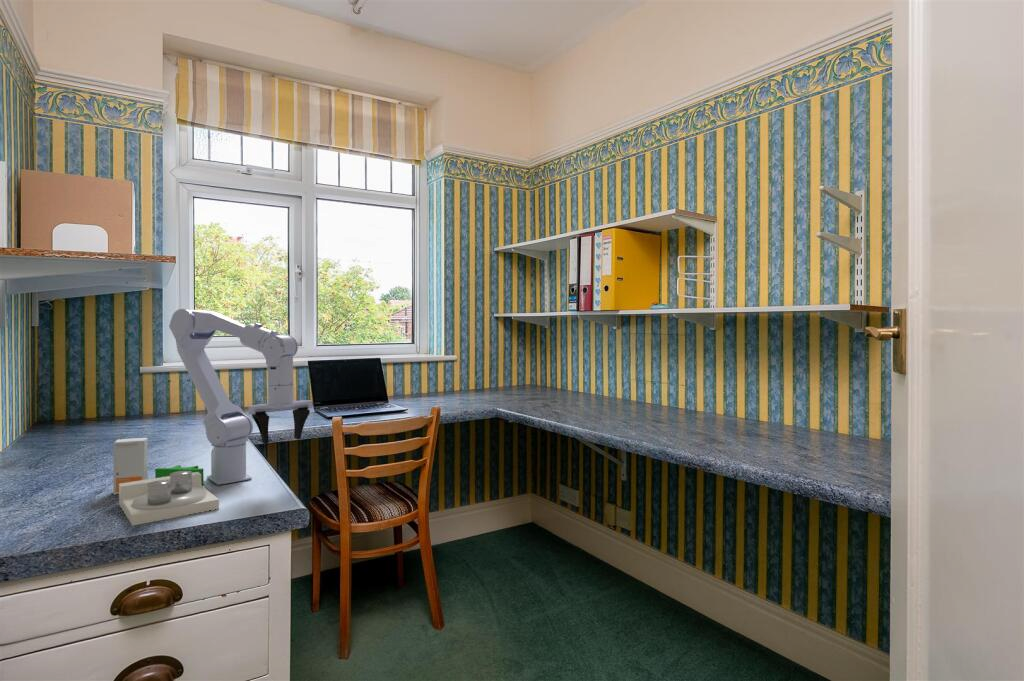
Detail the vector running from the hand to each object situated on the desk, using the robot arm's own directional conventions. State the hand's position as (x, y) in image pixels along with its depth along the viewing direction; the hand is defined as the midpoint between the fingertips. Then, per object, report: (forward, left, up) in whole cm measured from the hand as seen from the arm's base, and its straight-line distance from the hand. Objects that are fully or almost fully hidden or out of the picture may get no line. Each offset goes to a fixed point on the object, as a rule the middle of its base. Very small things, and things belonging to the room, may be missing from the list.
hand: (281, 440), depth 135 cm
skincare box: (-16, -28, -11) cm, 34 cm away
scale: (+3, -24, -10) cm, 26 cm away
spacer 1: (+7, -27, -8) cm, 29 cm away
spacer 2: (+1, -22, -8) cm, 23 cm away
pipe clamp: (-14, -18, -11) cm, 25 cm away
